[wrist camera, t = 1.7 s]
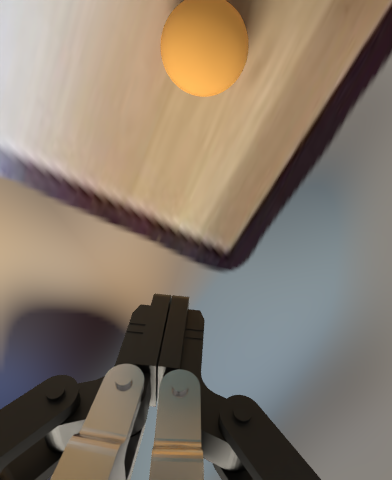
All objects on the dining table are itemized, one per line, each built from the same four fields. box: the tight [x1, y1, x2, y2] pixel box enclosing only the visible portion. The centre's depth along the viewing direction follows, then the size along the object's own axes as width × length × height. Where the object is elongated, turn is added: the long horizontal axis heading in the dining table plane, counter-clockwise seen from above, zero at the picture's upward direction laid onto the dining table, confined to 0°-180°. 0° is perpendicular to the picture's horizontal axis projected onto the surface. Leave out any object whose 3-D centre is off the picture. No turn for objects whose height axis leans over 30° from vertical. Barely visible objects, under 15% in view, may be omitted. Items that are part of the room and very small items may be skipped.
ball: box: [161, 0, 248, 97], centre depth 20 cm, size 5×5×5 cm
